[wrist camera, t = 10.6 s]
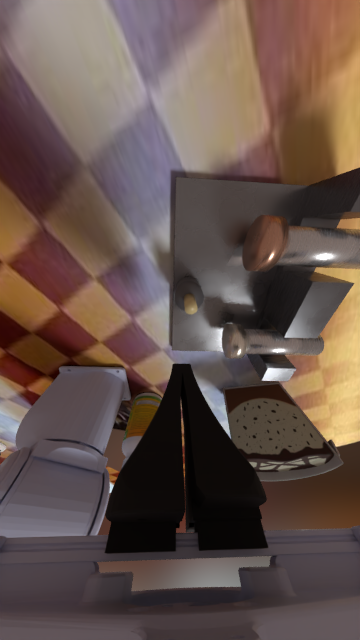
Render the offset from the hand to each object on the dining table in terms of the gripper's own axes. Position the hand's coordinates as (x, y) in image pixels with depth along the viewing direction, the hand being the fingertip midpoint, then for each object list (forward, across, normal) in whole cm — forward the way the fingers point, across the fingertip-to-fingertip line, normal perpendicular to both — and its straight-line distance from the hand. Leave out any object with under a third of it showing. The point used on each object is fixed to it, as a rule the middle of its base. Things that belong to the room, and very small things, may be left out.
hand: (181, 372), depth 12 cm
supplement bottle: (+8, +5, +17) cm, 19 cm away
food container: (+8, -13, +15) cm, 21 cm away
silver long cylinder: (+6, -10, 0) cm, 11 cm away
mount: (+7, -6, -5) cm, 10 cm away
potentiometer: (+7, -1, -5) cm, 8 cm away
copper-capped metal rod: (+6, -10, -9) cm, 14 cm away
